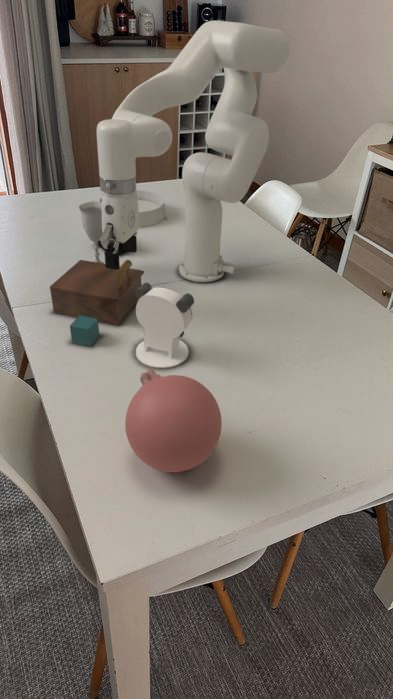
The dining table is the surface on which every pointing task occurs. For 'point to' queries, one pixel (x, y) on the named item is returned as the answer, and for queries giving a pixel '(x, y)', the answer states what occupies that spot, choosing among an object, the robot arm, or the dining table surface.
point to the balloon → (172, 422)
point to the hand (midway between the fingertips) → (121, 259)
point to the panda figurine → (162, 325)
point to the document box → (94, 305)
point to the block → (84, 330)
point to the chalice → (93, 223)
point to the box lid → (98, 280)
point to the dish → (149, 208)
